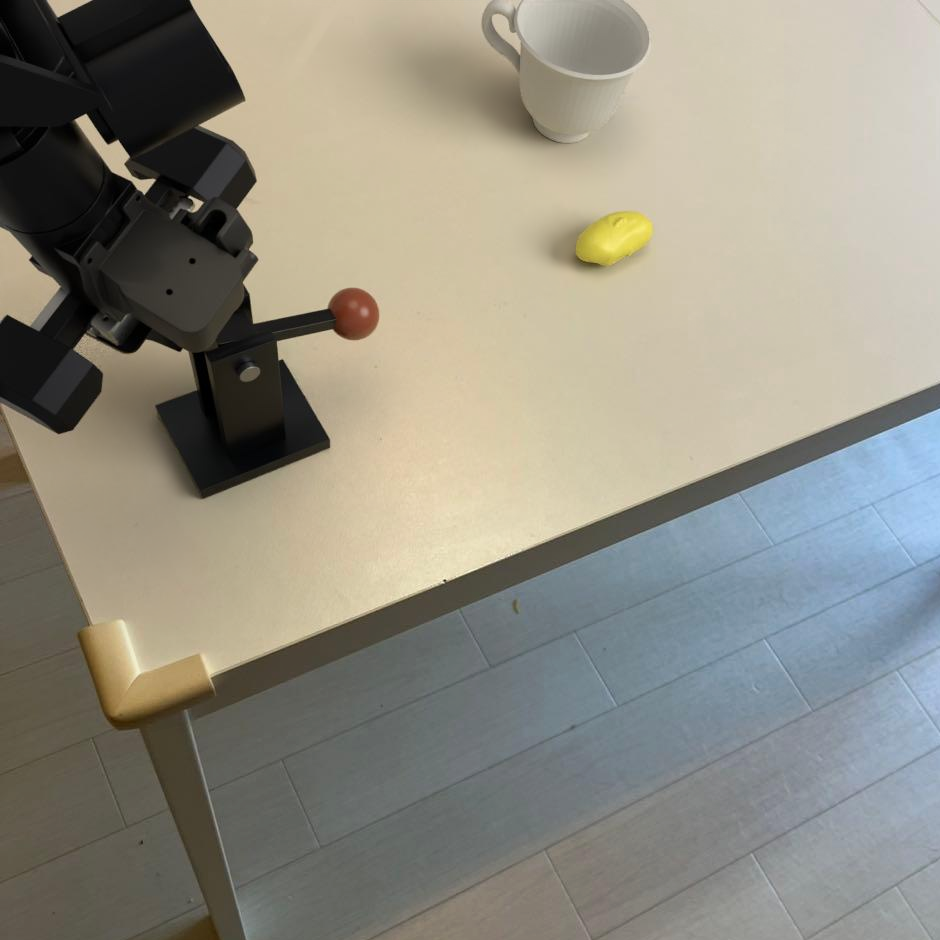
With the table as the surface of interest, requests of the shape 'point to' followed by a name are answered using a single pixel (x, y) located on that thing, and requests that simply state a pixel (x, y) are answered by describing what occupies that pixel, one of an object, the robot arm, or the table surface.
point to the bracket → (241, 414)
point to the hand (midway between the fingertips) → (178, 344)
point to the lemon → (614, 237)
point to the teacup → (571, 59)
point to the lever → (311, 320)
